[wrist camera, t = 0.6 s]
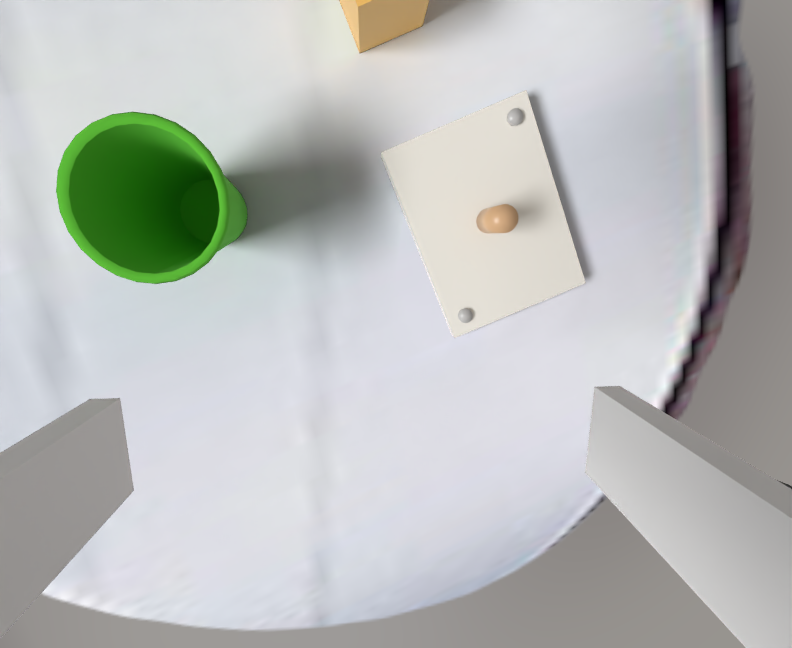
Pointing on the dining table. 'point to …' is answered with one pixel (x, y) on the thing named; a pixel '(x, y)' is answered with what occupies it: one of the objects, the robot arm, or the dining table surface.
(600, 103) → the dining table surface
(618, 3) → the dining table surface
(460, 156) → the lid
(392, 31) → the ball on cube
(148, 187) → the cup
